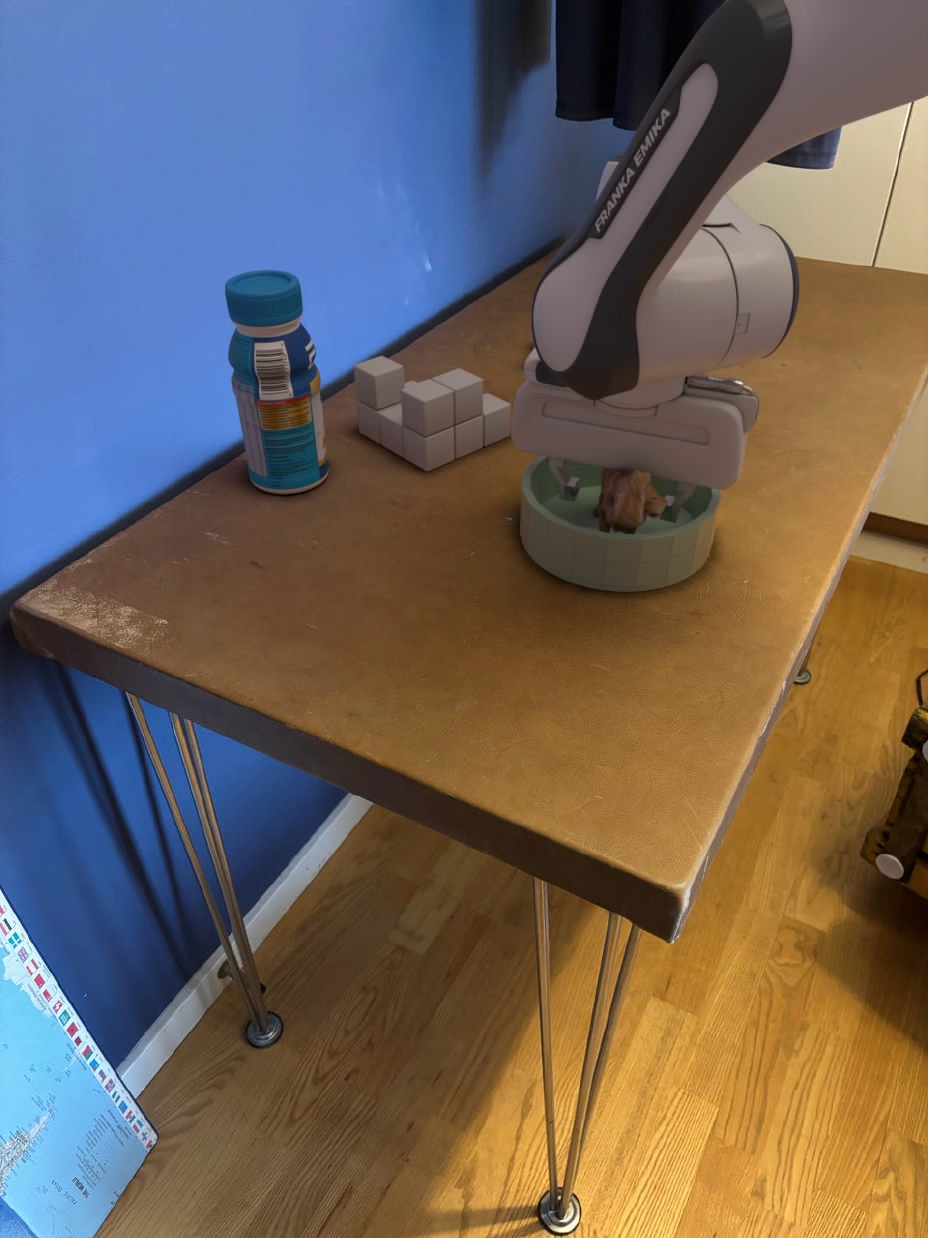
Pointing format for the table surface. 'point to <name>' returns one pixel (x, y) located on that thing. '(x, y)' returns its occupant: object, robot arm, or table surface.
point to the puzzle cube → (427, 413)
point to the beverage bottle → (276, 383)
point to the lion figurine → (627, 500)
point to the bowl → (612, 533)
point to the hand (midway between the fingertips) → (618, 507)
